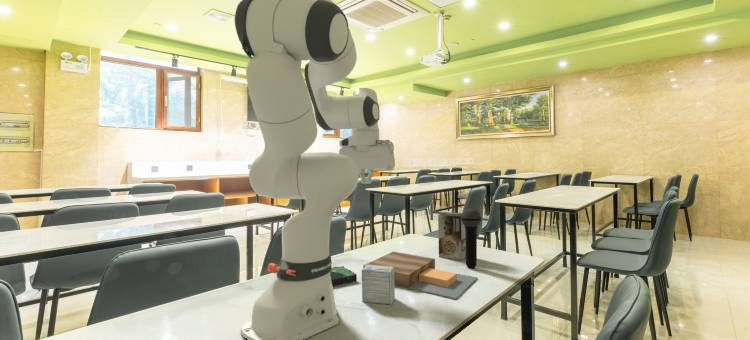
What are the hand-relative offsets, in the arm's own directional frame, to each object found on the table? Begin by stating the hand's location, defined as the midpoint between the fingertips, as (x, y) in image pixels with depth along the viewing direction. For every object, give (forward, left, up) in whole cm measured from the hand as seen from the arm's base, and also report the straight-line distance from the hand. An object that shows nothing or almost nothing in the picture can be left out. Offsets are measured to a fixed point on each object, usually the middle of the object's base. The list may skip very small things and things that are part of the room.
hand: (366, 183), depth 110 cm
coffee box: (+31, -17, -29) cm, 46 cm away
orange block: (+4, -23, -29) cm, 37 cm away
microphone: (+22, -27, -29) cm, 45 cm away
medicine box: (-16, -15, -29) cm, 37 cm away
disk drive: (-13, +6, -30) cm, 33 cm away
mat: (+4, -25, -29) cm, 39 cm away
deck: (+4, -10, -29) cm, 31 cm away
